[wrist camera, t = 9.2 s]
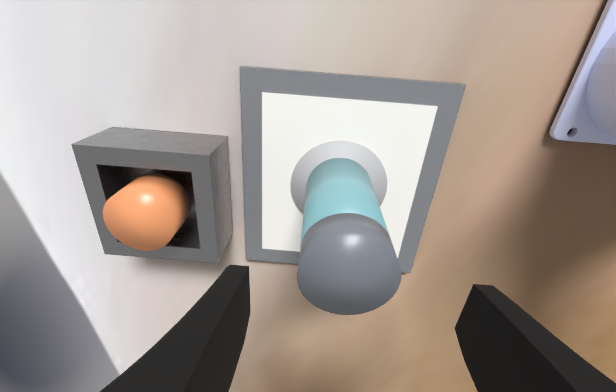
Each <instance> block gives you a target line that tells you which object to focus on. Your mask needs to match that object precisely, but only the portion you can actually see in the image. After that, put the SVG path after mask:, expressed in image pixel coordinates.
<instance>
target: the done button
mask: <svg viewBox="0 0 616 392" xmlns="http://www.w3.org/2000/svg"><path fill="white" fill-rule="evenodd" d="M190 210H191V202H190V198H189V196H188V194H187V192H186V191H185V189H184V188H183V187H182V186H181V185H180V184H179V183H178V182H177V181H176V180H174V179H172V178H171V177H169V176H166V175H163V174H159V173H146V174H143V175H140V176H139V177H137V178H136V179H134V180H133V181H132V182H130V183H129V184H128V185H126V186H125V187H124V188H122V189H121V190H120V191H118V192H117V193H116V194H114V195H113V196H112V197H110V198H109V199H108V200H107V201H106V203H105V205H104V208H103V219H104V222H105V225H106V226H107V228H108V230H109V231H110V232H111V234H112V235H113V236H114V237H115V238H116V239H118V240H119V241H120V242H122V243H123V244H125V245H127V246H129V247H131V248H134V249H138V250H143V251H153V250H157V249H160V248H162V247H164V246H165V245H167V244H168V243H169V241H170V240H171V239H172V237H173V236H174V235H175V233H176V232H177V231H178V229H179V228H180V227H181V226H182V224H183V223H184V222H185V220H186V219H187V217H188V216H189V214H190Z"/></svg>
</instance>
